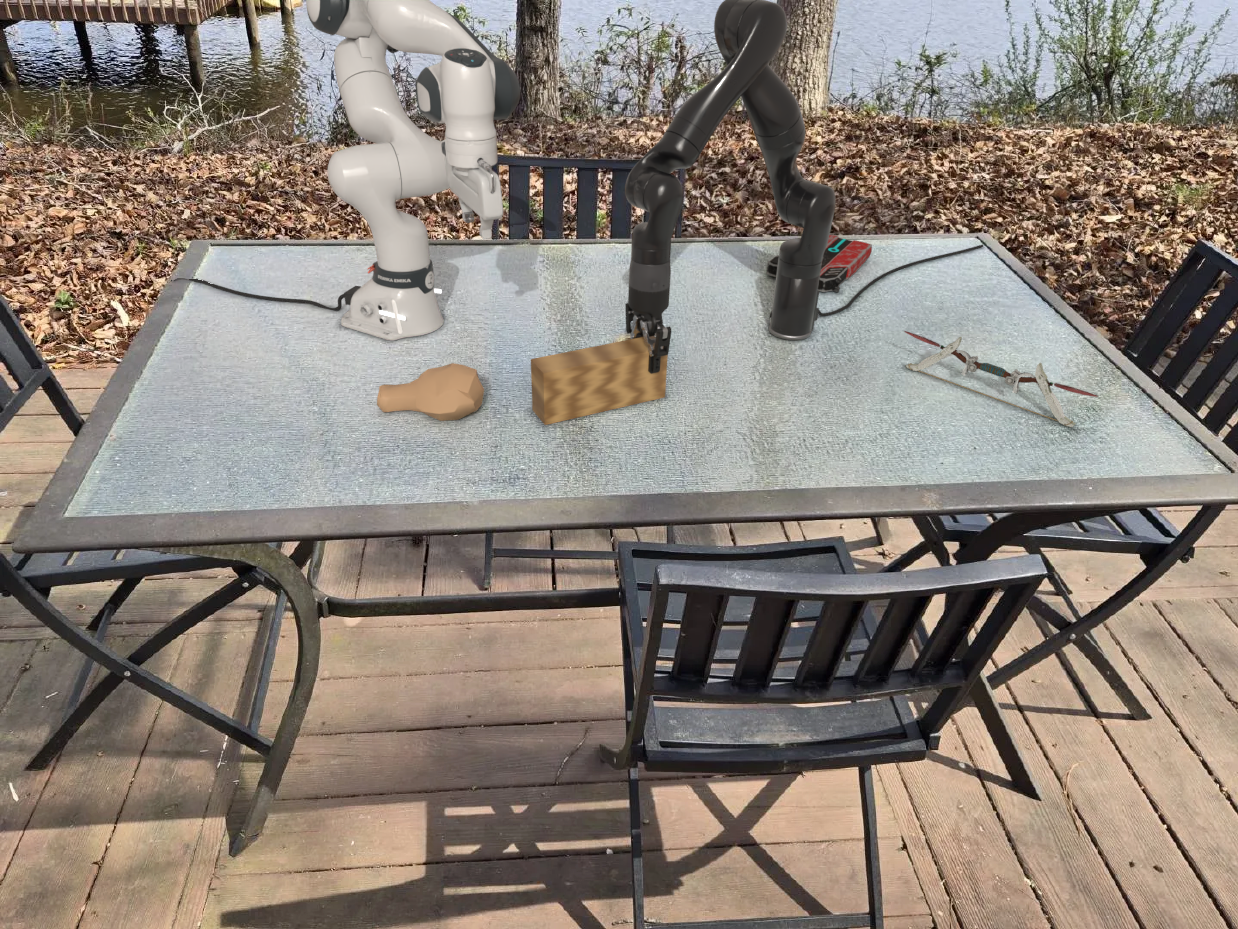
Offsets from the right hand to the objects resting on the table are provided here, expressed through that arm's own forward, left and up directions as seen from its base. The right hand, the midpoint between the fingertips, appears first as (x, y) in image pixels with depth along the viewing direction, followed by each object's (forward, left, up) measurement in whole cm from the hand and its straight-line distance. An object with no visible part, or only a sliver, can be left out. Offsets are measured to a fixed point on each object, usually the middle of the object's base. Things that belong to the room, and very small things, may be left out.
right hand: (645, 364), depth 168 cm
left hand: (+19, -27, +23) cm, 40 cm away
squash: (+36, -20, -6) cm, 41 cm away
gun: (-81, -19, -6) cm, 84 cm away
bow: (-52, +44, -6) cm, 68 cm away
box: (+9, -2, -6) cm, 12 cm away
